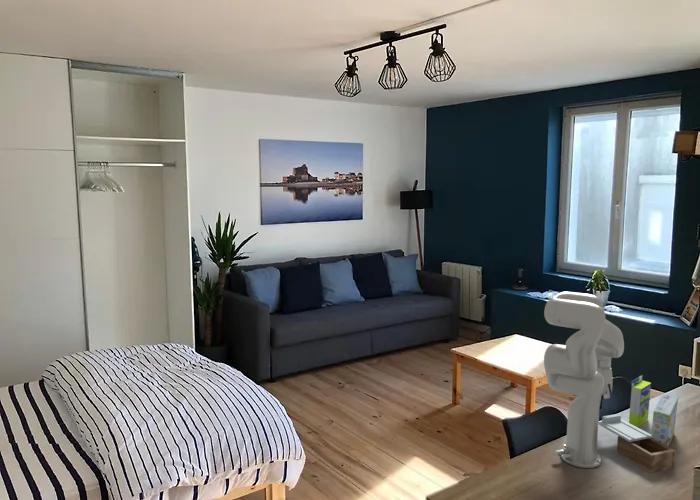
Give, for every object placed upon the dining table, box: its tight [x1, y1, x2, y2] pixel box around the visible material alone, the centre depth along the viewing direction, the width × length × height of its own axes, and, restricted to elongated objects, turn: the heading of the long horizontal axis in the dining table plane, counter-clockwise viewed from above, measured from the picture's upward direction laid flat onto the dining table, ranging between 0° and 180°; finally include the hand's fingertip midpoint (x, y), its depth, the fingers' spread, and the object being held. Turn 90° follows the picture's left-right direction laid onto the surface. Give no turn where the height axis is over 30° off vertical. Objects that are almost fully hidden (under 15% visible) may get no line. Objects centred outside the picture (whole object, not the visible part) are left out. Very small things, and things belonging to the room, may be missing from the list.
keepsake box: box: [616, 435, 676, 474], centre depth 186 cm, size 10×14×6 cm
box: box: [628, 375, 652, 428], centre depth 214 cm, size 10×4×17 cm, turn 132°
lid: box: [598, 413, 653, 442], centre depth 194 cm, size 10×14×3 cm
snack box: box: [650, 393, 679, 448], centre depth 198 cm, size 21×6×15 cm, turn 143°
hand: (596, 408), depth 207 cm, fingers closed
